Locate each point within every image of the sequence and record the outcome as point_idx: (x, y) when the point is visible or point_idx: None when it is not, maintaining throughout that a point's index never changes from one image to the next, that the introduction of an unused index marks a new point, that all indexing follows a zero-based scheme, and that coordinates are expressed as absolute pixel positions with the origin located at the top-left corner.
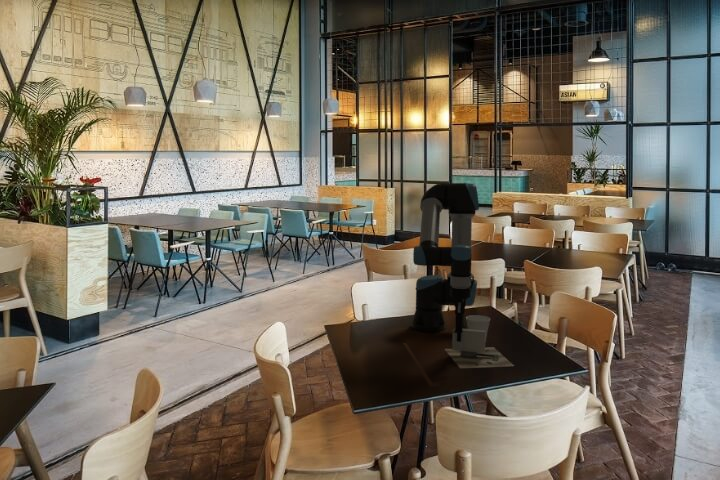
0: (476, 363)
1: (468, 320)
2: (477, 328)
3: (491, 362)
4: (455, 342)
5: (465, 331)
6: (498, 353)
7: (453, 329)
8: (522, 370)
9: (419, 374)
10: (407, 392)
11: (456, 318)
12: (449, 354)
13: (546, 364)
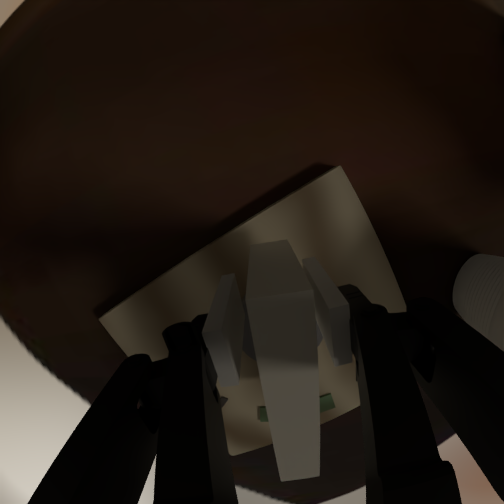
0: None
1: None
2: (493, 335)
3: (230, 408)
4: (215, 294)
5: (265, 398)
6: (353, 402)
7: (252, 306)
8: (234, 460)
9: (21, 183)
10: None
11: (61, 466)
12: (256, 220)
13: (312, 480)
